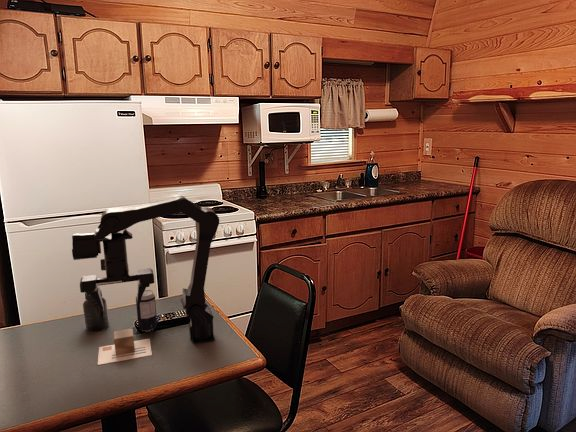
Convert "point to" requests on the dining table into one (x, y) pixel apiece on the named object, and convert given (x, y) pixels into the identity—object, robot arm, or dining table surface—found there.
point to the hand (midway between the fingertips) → (120, 308)
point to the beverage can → (147, 311)
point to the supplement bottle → (95, 314)
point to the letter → (110, 356)
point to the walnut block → (124, 341)
